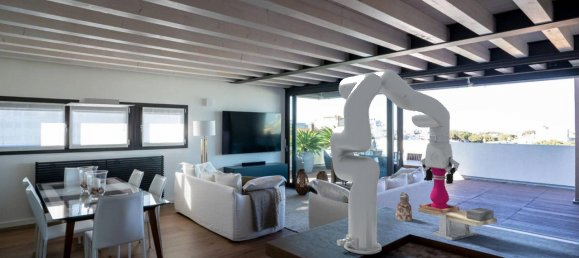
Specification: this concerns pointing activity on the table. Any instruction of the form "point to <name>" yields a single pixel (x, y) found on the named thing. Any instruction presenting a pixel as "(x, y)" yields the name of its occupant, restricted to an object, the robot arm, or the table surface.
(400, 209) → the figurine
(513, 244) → the table surface
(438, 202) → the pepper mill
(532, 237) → the table surface
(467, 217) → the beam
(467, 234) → the fulcrum
